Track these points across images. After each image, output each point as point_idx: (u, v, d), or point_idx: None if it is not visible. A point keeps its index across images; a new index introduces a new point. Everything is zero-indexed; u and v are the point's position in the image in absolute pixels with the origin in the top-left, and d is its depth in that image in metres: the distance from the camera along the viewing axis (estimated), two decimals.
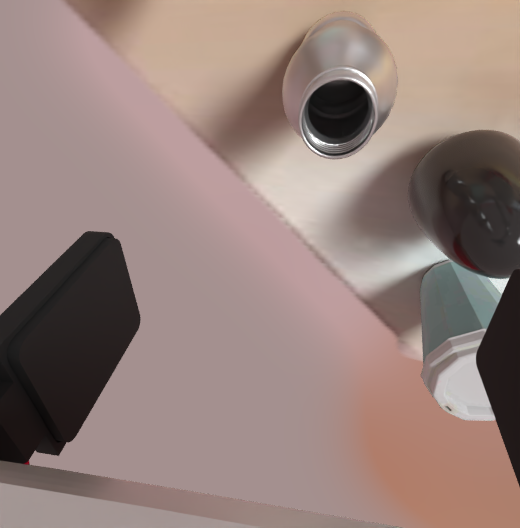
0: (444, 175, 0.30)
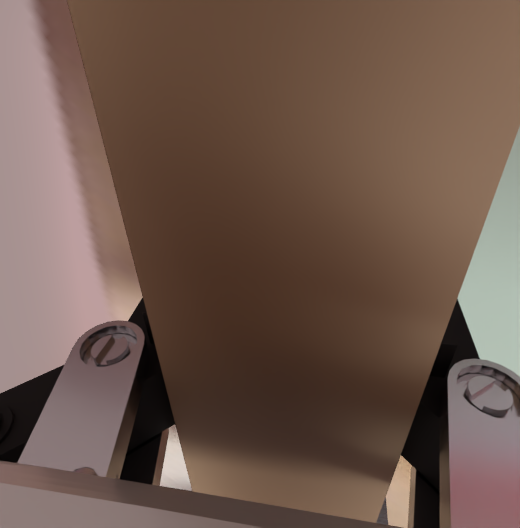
0: None
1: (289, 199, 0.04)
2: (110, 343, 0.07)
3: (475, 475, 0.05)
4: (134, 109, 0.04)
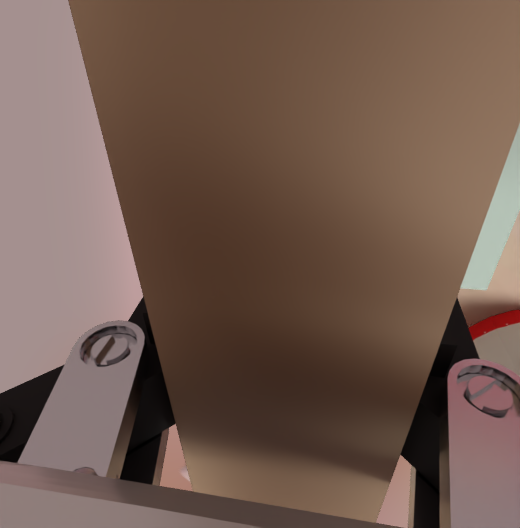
0: None
1: (289, 200, 0.04)
2: (110, 343, 0.07)
3: (475, 475, 0.05)
4: (135, 109, 0.04)
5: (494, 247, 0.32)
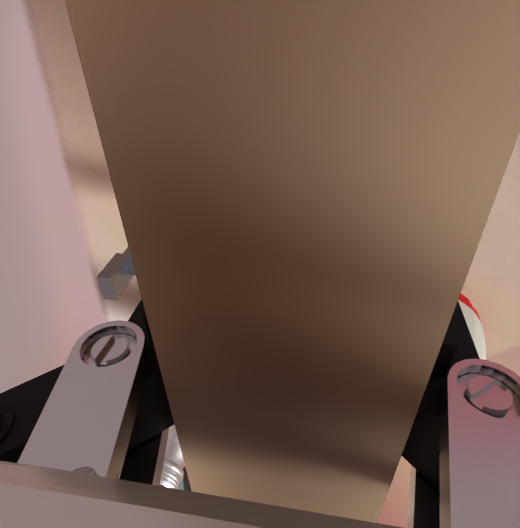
0: None
1: (288, 203, 0.04)
2: (110, 343, 0.07)
3: (475, 475, 0.05)
4: (132, 110, 0.04)
5: None
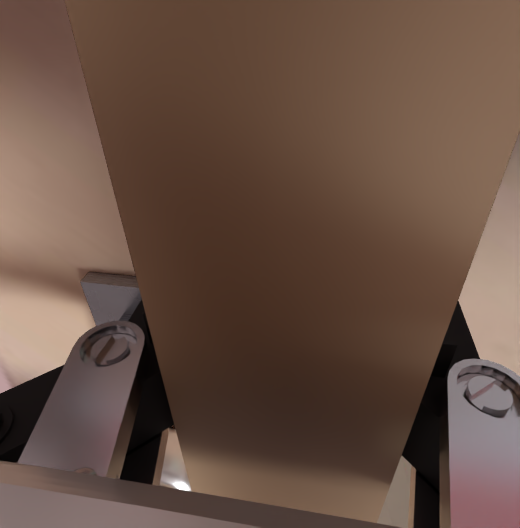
0: None
1: (288, 203, 0.04)
2: (110, 343, 0.07)
3: (475, 475, 0.05)
4: (132, 110, 0.04)
5: None
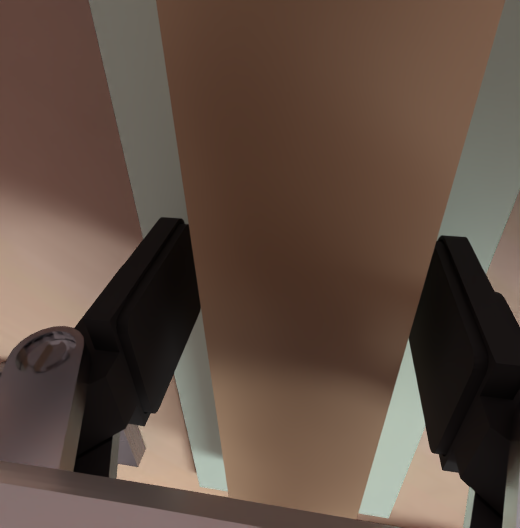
0: None
1: (312, 147, 0.06)
2: (47, 350, 0.07)
3: None
4: (198, 76, 0.05)
5: (389, 472, 0.17)
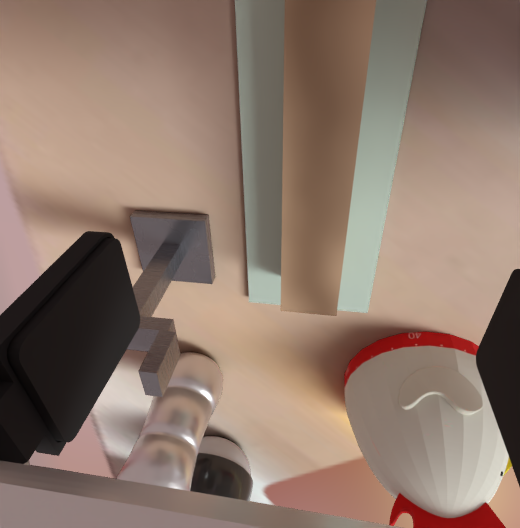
0: None
1: (327, 34, 0.18)
2: None
3: None
4: (293, 11, 0.18)
5: (366, 268, 0.30)
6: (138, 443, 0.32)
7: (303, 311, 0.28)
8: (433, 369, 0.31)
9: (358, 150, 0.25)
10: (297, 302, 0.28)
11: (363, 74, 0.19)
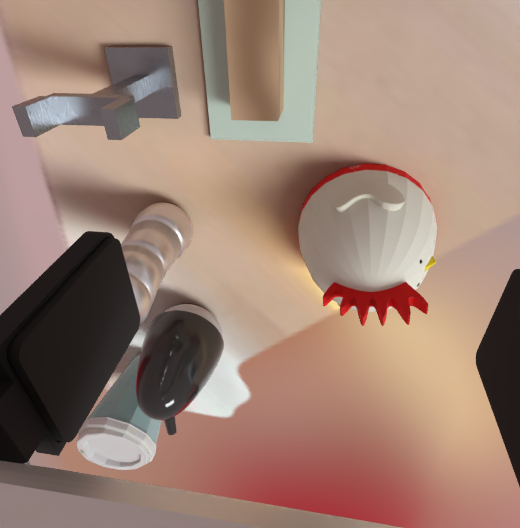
0: (166, 339, 0.46)
1: None
2: None
3: None
4: None
5: (307, 92, 0.35)
6: None
7: (250, 118, 0.33)
8: (366, 182, 0.35)
9: None
10: (244, 108, 0.32)
11: None
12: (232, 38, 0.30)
